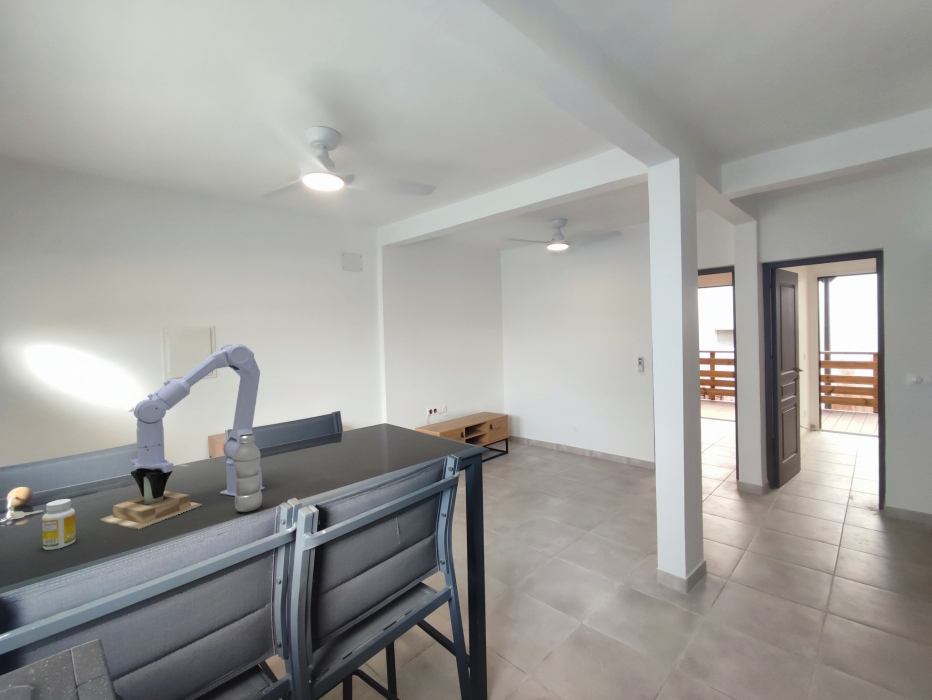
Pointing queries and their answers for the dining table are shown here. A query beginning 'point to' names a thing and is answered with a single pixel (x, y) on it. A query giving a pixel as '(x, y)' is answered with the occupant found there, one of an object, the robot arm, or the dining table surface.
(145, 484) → the dowel
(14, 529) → the dining table surface
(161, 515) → the socket block
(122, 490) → the dining table surface
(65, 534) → the supplement bottle
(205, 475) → the dining table surface
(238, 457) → the plastic bottle
